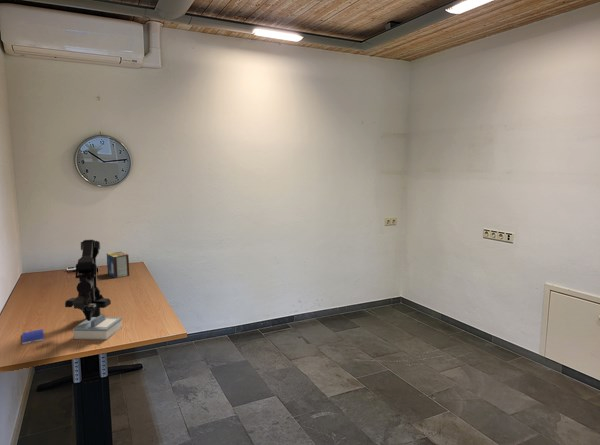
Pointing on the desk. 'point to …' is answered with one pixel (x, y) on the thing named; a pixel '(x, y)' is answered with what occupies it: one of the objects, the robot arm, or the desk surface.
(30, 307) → the desk surface
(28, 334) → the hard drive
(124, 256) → the protein box
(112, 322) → the lid
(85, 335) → the box
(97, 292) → the robot arm
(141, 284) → the desk surface
